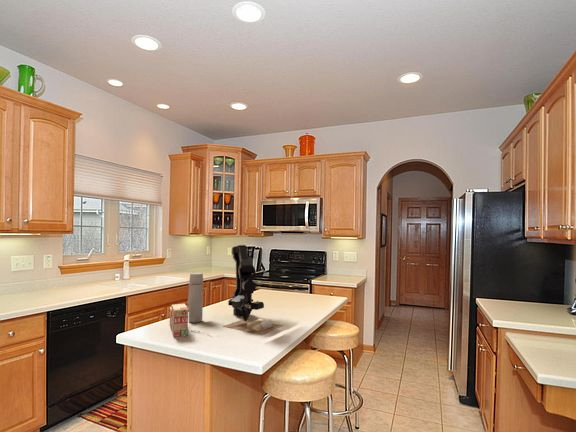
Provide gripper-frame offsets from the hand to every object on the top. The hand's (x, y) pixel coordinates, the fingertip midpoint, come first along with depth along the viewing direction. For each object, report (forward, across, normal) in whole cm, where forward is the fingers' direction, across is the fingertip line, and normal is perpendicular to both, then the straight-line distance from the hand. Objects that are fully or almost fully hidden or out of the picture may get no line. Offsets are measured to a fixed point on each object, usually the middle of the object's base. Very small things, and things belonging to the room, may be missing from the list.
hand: (245, 321), depth 169 cm
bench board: (+3, +5, 0) cm, 6 cm away
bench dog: (+2, +13, 0) cm, 13 cm away
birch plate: (+2, +9, 0) cm, 9 cm away
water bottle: (+3, -30, -6) cm, 31 cm away
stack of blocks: (+4, -24, -22) cm, 32 cm away
